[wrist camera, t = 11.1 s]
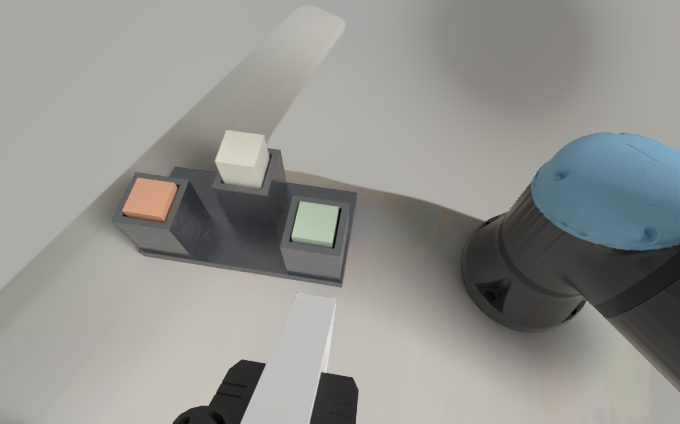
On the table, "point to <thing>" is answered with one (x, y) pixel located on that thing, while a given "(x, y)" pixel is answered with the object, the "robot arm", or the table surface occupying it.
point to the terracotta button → (150, 200)
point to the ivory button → (243, 159)
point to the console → (242, 225)
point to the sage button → (316, 225)
